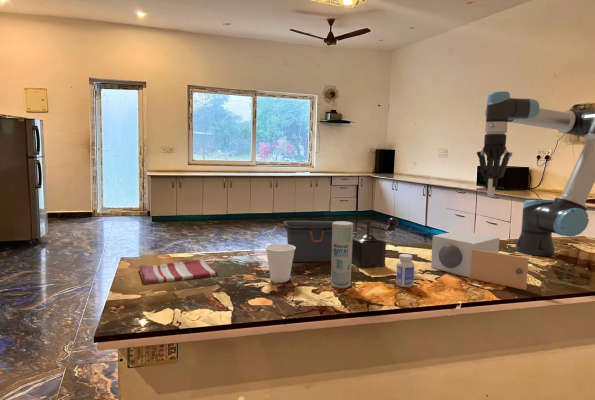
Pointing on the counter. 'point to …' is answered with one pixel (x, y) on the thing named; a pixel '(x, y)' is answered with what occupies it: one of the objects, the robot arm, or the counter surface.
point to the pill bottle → (405, 271)
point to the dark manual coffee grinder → (371, 247)
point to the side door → (499, 268)
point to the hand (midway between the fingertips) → (490, 195)
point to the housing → (459, 250)
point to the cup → (280, 261)
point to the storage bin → (310, 240)
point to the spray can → (341, 254)
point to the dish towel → (176, 271)
